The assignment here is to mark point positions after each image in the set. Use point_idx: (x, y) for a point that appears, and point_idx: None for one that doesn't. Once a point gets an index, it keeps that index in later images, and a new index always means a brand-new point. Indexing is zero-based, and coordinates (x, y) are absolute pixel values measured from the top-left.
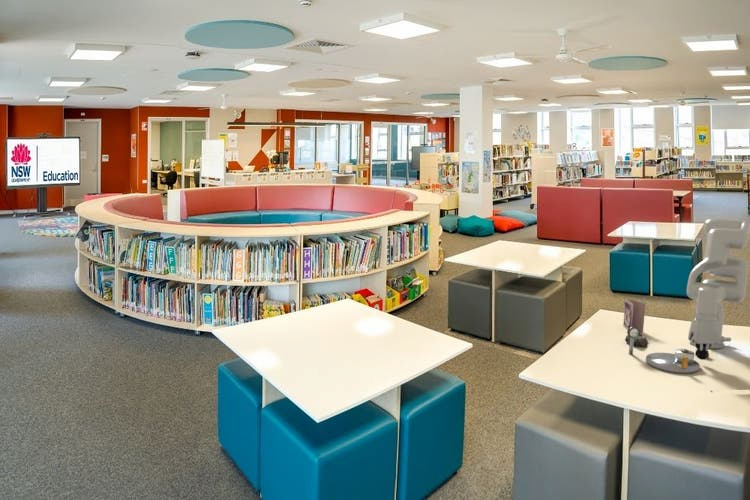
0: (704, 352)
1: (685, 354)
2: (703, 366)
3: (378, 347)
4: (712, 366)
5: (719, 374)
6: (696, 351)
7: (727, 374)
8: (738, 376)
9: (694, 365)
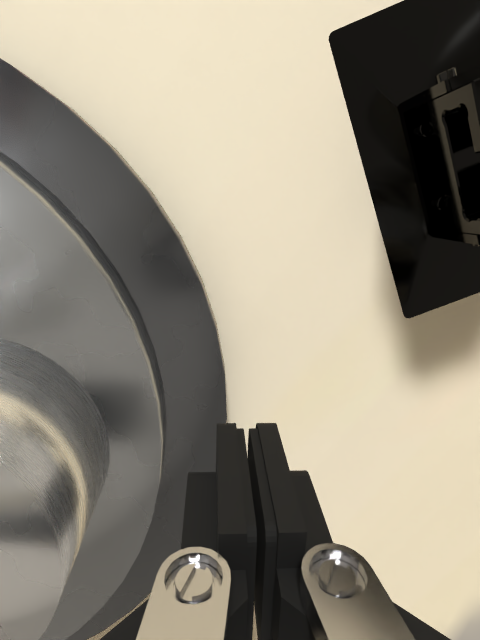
0: (259, 625)
1: None
2: (286, 393)
3: None
4: (387, 399)
5: None
6: (450, 95)
7: None
8: (430, 613)
9: None
